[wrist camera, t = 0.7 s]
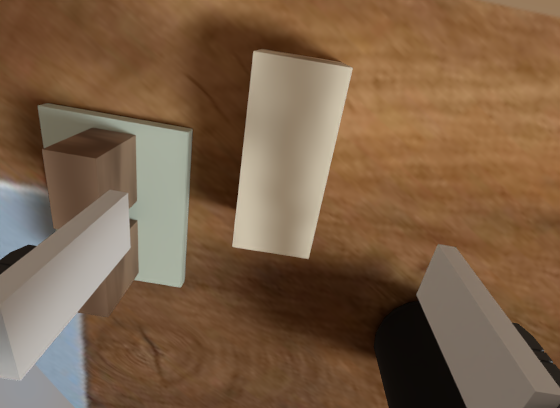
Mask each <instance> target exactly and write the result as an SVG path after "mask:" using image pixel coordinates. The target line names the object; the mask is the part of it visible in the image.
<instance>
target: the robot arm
mask: <svg viewBox="0 0 560 408" xmlns="http://www.w3.org/2000/svg"><path fill="white" fill-rule="evenodd" d="M130 248H131V245H130V224H129V202H128V193H126V192H120V191H114V190H109V191H107V192H106V193H105V194H104V195H102V196H101V197H100V198H98V199H97V200H96V201H95V202H93V203H92V204H91V205H89V206H88V207H87V208H85V209H84V210H83V211H82V212H80V213H79V214H78V215H76V216H75V217H74V218H73V219H71V220H70V221H69V222H67V223H66V224H65V225H64V226H62V227H61V228H60V229H58V230H57V231H56V232H55V233H53V234H52V235H51V236H49V237H48V238H47V239H46V240H44V241H43V242H42V243H40V244H39V245H38V246H34V245H27V246H24V247H22V248H20V249H17V250H15V251H13V252H10V253H9V254H8V255H6V256H5V257H4V258H2V259H1V260H0V378H5V379H11V380H17V381H21V380H22V378H23V377H24V376H25V375H26V374H27V372H28V371H29V370H30V369H31V368H32V366H33V365H34V364H35V363H36V362H37V360H38V359H39V358H40V357H41V356H42V354H43V353H44V352H45V351H46V350H47V348H48V347H49V346H50V345H51V343H52V342H53V341H54V340H55V339H56V337H57V336H58V335H59V334H60V333H61V331H62V330H63V329H64V328H65V327H66V325H67V324H68V323H69V322H70V321H71V319H72V318H73V317H74V316H75V314H76V313H77V312H78V311H79V310H80V308H81V307H82V306H83V305H84V304H85V302H86V301H87V300H88V299H89V298H90V296H91V295H92V294H93V293H94V292H95V290H96V289H97V288H98V287H99V285H100V284H101V283H102V282H103V281H104V279H105V278H106V277H107V276H108V275H109V273H110V272H111V271H112V270H113V269H114V267H115V266H116V265H117V264H118V263H119V261H120V260H121V259H122V258H123V256H124V255H125V254H126V253H127V252H128V250H129V249H130ZM416 295H417V298H418V300H419V302H420V304H421V306H422V309H423V311H424V313H425V315H426V318H427V320H428V322H429V324H430V327H431V329H432V331H433V333H434V336H435V338H436V340H437V342H438V344H439V347H440V349H441V351H442V353H443V356H444V358H445V360H446V362H447V365H448V367H449V369H450V371H451V374H452V376H453V378H454V380H455V382H456V385H457V387H458V389H459V391H460V394H461V396H462V398H463V400H464V403H465V405H466V407H467V408H560V370H559V369H558V368H557V366H556V365H554V364H553V361H552V360H551V359H550V357H549V356H548V355H547V353H544V350H543V348H542V347H541V346H540V344H539V343H538V342H537V341H536V339H535V338H534V337H533V336H532V335H531V334H530V333H529V332H527V331H526V330H525V329H524V328H523V327H521V326H520V325H519V324H517V323H511V321H510V320H509V319H508V317H507V316H506V314H505V313H504V312H503V310H502V309H501V308H500V306H499V305H498V304H497V302H496V301H495V300H494V298H493V297H492V296H491V294H490V293H489V292H488V290H487V289H486V287H485V286H484V285H483V283H482V282H481V281H480V279H479V278H478V277H477V275H476V274H475V273H474V271H473V270H472V269H471V267H470V266H469V265H468V263H467V262H466V260H465V259H464V258H463V256H462V255H461V254H460V252H459V251H458V250H457V248H456V247H451V246H445V245H439V244H438V245H437V248H436V250H435V252H434V255H433V257H432V259H431V262H430V264H429V266H428V269H427V271H426V273H425V276H424V278H423V280H422V282H421V285H420V287H419V289H418V292H417V294H416Z"/></svg>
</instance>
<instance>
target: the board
mask: <svg viewBox="0 0 560 408" xmlns="http://www.w3.org/2000/svg"><path fill="white" fill-rule="evenodd" d="M38 112H39V119H40V126H41V133H42V140H43V146H44V148H46V147H48V146H51V145H53V144H55V143H58V142H60V141H62V140H65V139H67V138H69V137H72V136H74V135H76V134H79V133H81V132H83V131H86V130H88V129H90V128H98V129H103V130H109V131H115V132H120V133H126V134H132V135H136V171H137V202H136V203H135V204H134V205H133V206H132V207H131V208H130V209H129V219H132V220H138V262H139V273H138V275H137V276H136V277H135V279H134V280H138V281H144V282H150V283H157V284H163V285H169V286H175V287H181V286H182V284H183V282H184V280H185V263H186V244H187V226H188V207H189V188H190V169H191V150H192V132H193V129H191V128H185V127H180V126H174V125H168V124H163V123H157V122H152V121H146V120H140V119H135V118H129V117H123V116H118V115H112V114H106V113H101V112H95V111H90V110H84V109H78V108H73V107H67V106H61V105H56V104H50V103H46V104H42V105H38ZM57 230H58V229H56V231H57Z"/></svg>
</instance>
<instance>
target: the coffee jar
mask: <svg viewBox="0 0 560 408" xmlns="http://www.w3.org/2000/svg"><path fill="white" fill-rule="evenodd" d="M374 349H375V354H376V358H377V362H378V366H379V370H380V374H381V378H382V382H383V386H384V390H385V394H386V398H387V402H388V406H389V408H467V407H466V405H465V403H464V400H463V398H462V396H461V394H460V391H459V389H458V387H457V385H456V382H455V380H454V378H453V376H452V374H451V371H450V369H449V367H448V365H447V362H446V360H445V358H444V356H443V353H442V351H441V349H440V347H439V344H438V342H437V340H436V338H435V336H434V333H433V331H432V329H431V327H430V324H429V322H428V320H427V318H426V315H425V313H424V311H423V309H422V306H421V304H420V302H419V301H416V302H411V303H407V304H405V305H403V306H401V307H399V308H396V309H394V310H393V311H392V312H391V313H390V314H389V315H388V316H386V317H385V318H384V320H383V322H382V323H381V325H380V327H379V329H378V330H377V332H376V335H375V342H374Z"/></svg>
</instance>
